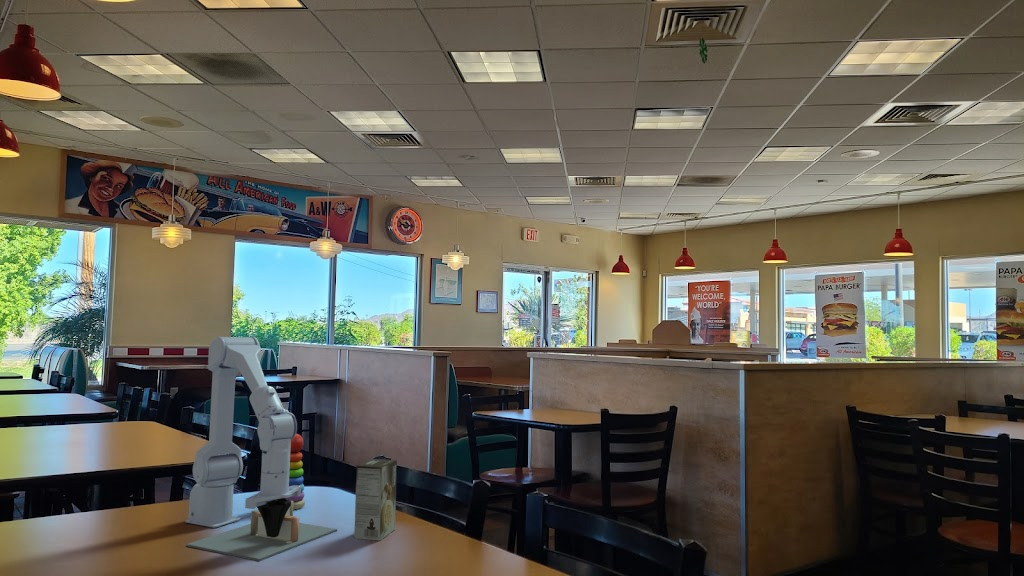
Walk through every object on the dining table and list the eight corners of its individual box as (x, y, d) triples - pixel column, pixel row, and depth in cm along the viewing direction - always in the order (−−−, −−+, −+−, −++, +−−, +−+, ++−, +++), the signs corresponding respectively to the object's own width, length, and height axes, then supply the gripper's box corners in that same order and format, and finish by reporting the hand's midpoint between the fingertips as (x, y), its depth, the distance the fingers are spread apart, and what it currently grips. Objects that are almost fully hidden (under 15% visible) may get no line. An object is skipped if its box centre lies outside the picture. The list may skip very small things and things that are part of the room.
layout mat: (186, 546, 147) (186, 543, 148) (269, 519, 169) (269, 517, 169) (259, 561, 139) (259, 558, 139) (337, 530, 161) (337, 528, 161)
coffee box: (369, 527, 164) (372, 457, 165) (395, 530, 163) (398, 459, 164) (353, 539, 155) (355, 465, 156) (380, 541, 154) (383, 466, 155)
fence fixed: (248, 536, 155) (249, 511, 155) (288, 523, 166) (289, 499, 167) (254, 537, 154) (255, 512, 155) (294, 524, 166) (295, 500, 166)
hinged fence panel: (256, 535, 154) (257, 513, 155) (261, 533, 156) (262, 511, 156) (294, 541, 150) (295, 519, 151) (299, 539, 152) (300, 517, 152)
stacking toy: (286, 513, 175) (289, 436, 177) (265, 507, 180) (268, 433, 181) (311, 506, 182) (314, 433, 183) (290, 502, 186) (293, 430, 188)
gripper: (265, 479, 142) (262, 548, 141) (313, 467, 155) (310, 530, 154) (238, 475, 145) (235, 543, 144) (287, 464, 158) (285, 525, 157)
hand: (272, 536), depth 149 cm, fingers closed
